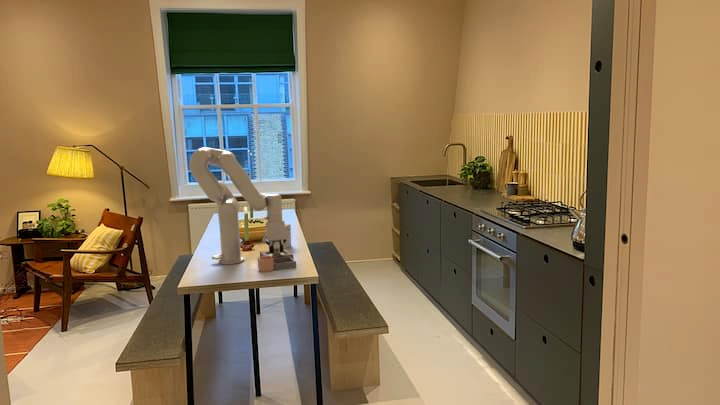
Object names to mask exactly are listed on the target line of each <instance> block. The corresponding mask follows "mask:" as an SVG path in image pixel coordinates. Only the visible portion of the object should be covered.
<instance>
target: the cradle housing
mask: <svg viewBox="0 0 720 405" xmlns="http://www.w3.org/2000/svg"><path fill="white" fill-rule="evenodd" d="M283 253H284V254H285V255H277V256H271V257H272V258H281V257H289V256H290V257H291V258H292V259H294V260H295V258H294V254H293V253H292V252H291V251H290V250H288V248H283ZM267 254H271V253H270V252H269V250H262V251H259V257H263V256H269V255H267Z"/></svg>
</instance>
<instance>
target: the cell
mask: <svg viewBox="0 0 720 405" xmlns="http://www.w3.org/2000/svg"><path fill="white" fill-rule="evenodd" d="M272 246H273V254H272V256H277V255H281V248H280V240H277V241H272Z"/></svg>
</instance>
